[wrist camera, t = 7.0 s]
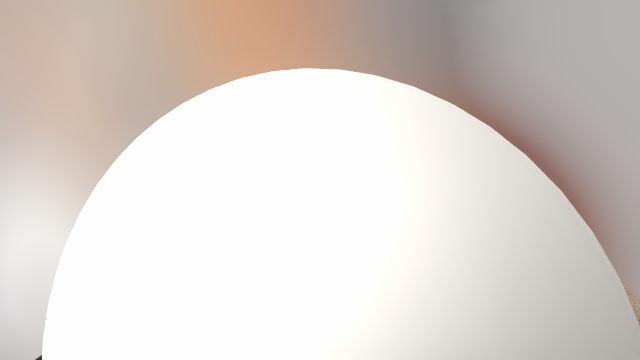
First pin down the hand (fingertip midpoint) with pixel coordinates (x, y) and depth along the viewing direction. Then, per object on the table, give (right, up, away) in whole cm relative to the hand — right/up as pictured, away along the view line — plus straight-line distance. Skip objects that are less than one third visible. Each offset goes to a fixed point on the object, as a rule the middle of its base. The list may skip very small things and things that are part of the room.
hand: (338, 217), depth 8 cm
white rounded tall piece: (+1, -2, +6) cm, 7 cm away
